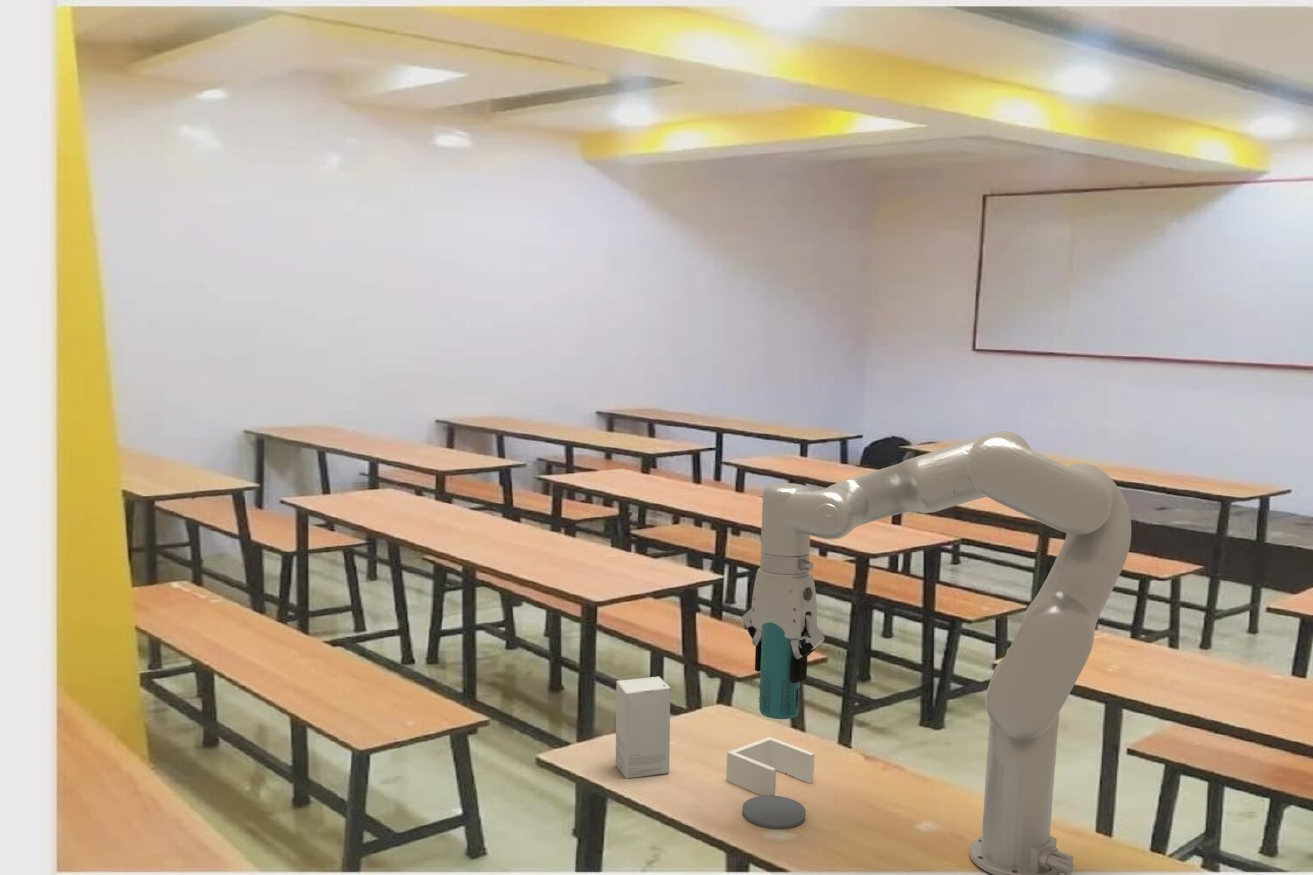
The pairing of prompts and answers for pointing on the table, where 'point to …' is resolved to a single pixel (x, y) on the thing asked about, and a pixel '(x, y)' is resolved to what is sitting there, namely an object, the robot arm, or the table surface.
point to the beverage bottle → (777, 675)
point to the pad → (774, 812)
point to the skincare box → (642, 727)
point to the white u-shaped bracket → (767, 765)
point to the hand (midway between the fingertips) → (780, 674)
